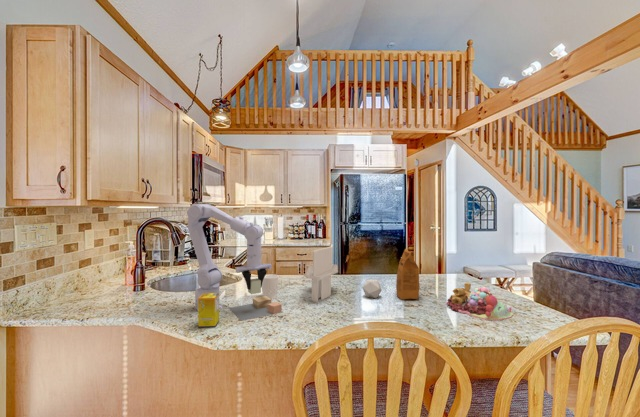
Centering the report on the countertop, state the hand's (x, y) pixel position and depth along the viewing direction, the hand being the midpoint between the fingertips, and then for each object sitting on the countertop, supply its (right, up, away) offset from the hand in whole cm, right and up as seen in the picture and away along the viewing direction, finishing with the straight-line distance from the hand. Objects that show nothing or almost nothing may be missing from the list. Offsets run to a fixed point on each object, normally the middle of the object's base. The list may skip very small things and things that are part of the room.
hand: (254, 288), depth 128 cm
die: (+51, -9, +20) cm, 56 cm away
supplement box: (-13, -10, -15) cm, 22 cm away
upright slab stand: (+27, -9, +22) cm, 36 cm away
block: (+8, -9, -1) cm, 12 cm away
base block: (+2, -9, +6) cm, 11 cm away
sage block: (0, -2, 0) cm, 2 cm away
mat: (0, -9, +1) cm, 9 cm away
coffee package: (+68, -9, +20) cm, 71 cm away
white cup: (+3, -9, +19) cm, 21 cm away
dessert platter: (+93, -10, +3) cm, 94 cm away
